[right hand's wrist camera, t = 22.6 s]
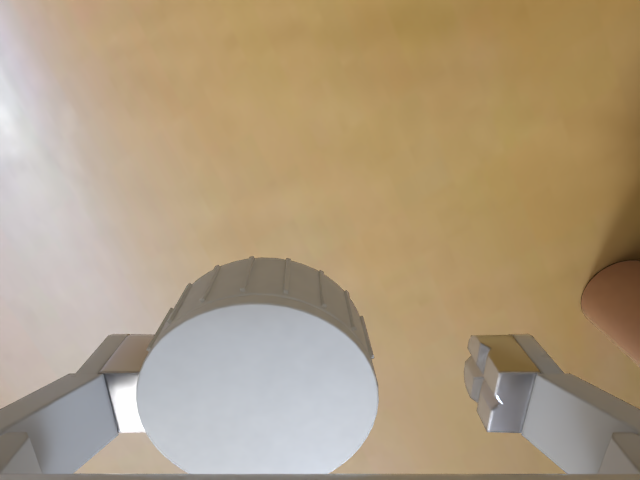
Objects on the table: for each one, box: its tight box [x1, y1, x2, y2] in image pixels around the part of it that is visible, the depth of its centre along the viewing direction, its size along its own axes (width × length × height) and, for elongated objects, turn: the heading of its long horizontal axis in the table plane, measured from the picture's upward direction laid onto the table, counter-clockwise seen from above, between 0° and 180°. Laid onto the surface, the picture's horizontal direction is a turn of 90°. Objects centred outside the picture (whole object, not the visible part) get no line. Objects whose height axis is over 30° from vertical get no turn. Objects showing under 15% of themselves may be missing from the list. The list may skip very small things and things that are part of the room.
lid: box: [136, 256, 379, 474], centre depth 10 cm, size 6×6×2 cm
